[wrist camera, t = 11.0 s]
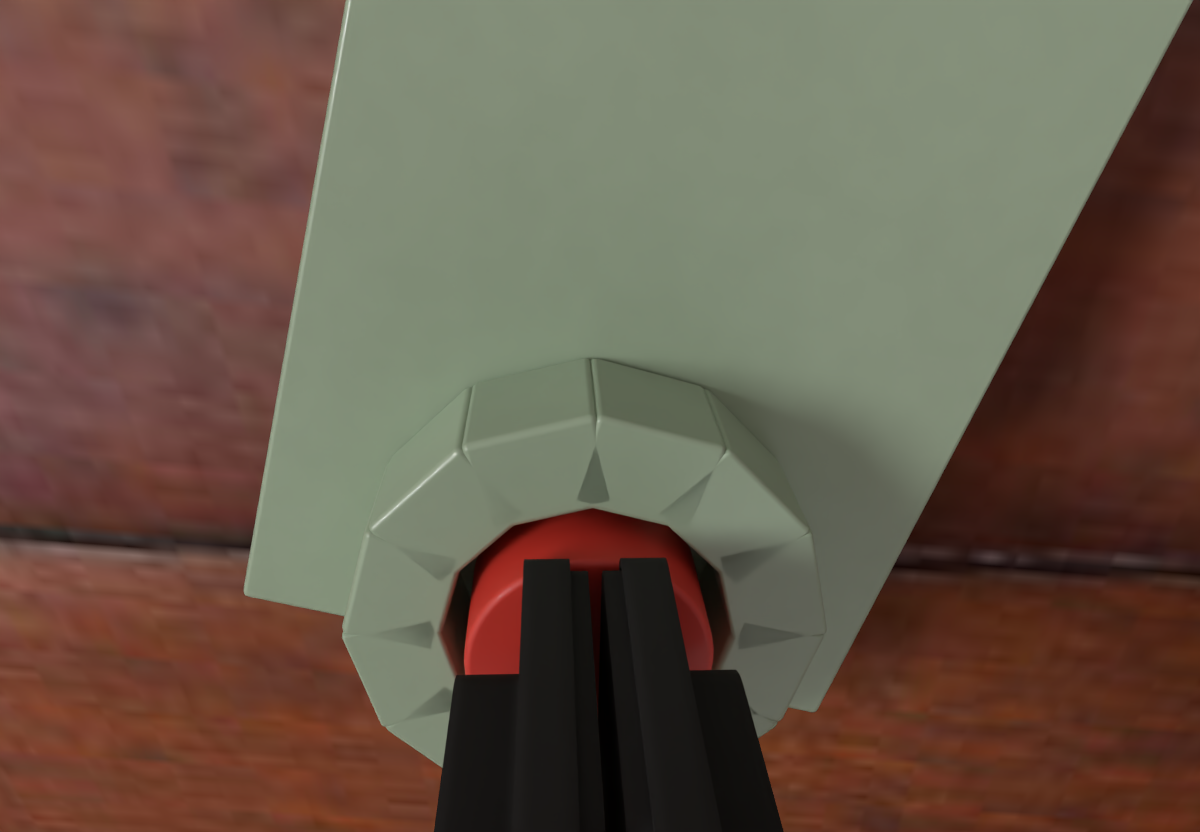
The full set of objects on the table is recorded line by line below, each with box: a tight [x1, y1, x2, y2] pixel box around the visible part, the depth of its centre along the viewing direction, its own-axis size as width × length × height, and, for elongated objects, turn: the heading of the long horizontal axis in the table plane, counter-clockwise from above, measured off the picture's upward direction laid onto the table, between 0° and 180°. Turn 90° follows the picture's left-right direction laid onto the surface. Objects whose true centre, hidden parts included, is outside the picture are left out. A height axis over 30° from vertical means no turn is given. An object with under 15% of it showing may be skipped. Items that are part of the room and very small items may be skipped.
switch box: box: [244, 0, 1193, 768], centre depth 11 cm, size 17×9×4 cm, turn 163°
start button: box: [464, 508, 714, 712], centre depth 12 cm, size 3×3×2 cm
